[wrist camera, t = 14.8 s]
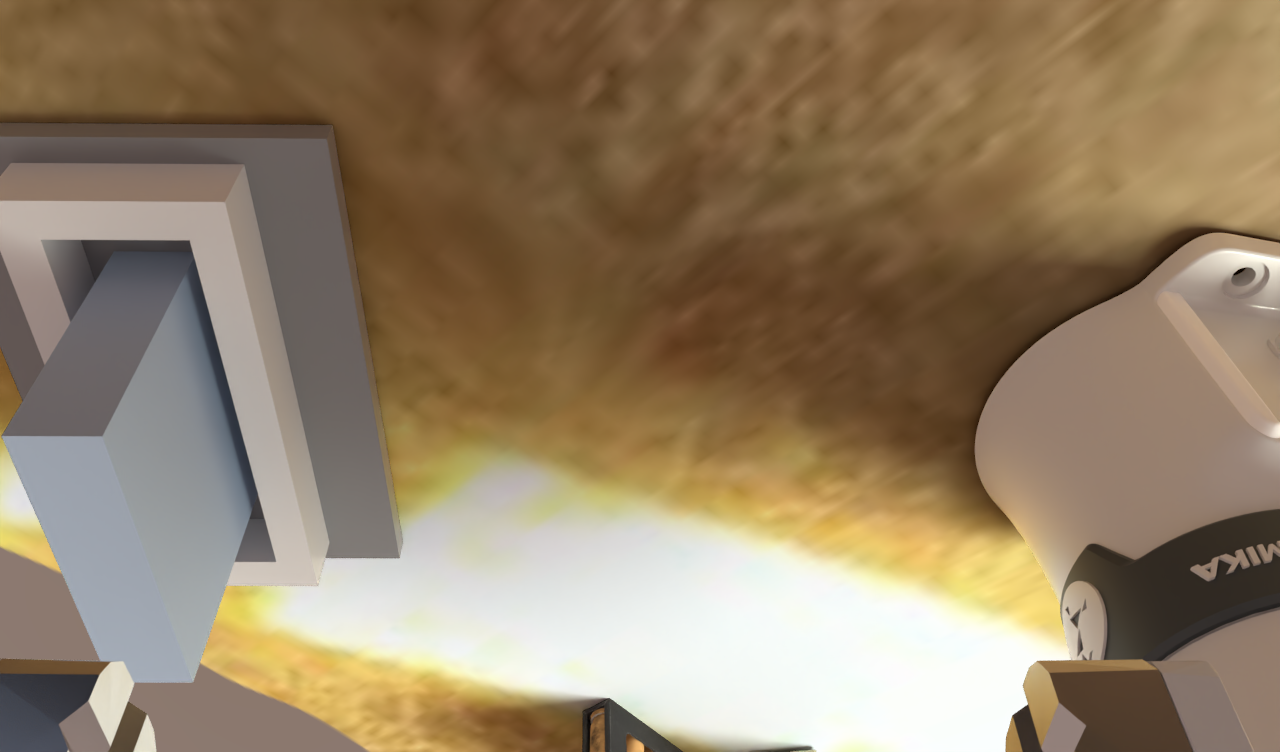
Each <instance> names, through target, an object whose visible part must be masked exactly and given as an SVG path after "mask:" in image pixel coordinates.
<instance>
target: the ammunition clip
mask: <svg viewBox="0 0 1280 752" xmlns="http://www.w3.org/2000/svg"><path fill="white" fill-rule="evenodd" d="M582 752H683V751H681V750H680V749H679V748H677V747H676V746H675V745H673V744H672V743H670V742H669V741H668V740H666V739H665V738H664V737H662V736H661V735H659V734H658V733H657V732H655V731H654V730H653V729H651V728H650V727H648V726H647V725H646V724H644V723H643V722H642V721H640V720H639V719H637V718H636V717H635V716H633V715H632V714H631V713H629V712H628V711H627V710H625V709H624V708H622V707H621V706H620V705H618V704H617V703H616V702H614V701H613V700H611V699H607V700H605V701H603V702H601V703H599V704H597V705H595V706H593V707H591V708H589V709H587V710H585V711H583V743H582Z"/></svg>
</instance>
